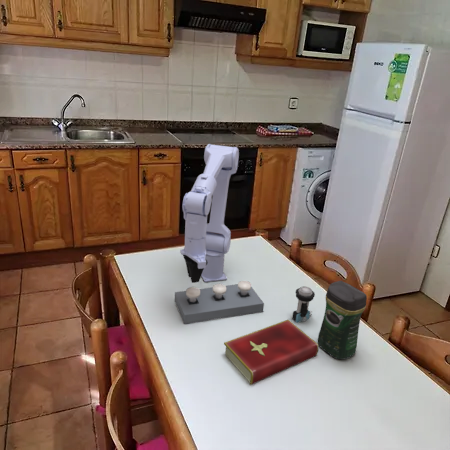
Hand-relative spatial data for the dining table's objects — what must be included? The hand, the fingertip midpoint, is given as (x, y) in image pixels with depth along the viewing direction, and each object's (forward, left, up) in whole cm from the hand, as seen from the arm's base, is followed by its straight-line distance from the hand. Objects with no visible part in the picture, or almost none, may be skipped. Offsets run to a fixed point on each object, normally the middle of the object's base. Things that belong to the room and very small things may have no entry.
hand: (193, 279), depth 115 cm
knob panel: (0, +8, -10) cm, 13 cm away
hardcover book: (+24, +14, -11) cm, 30 cm away
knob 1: (0, 0, -7) cm, 7 cm away
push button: (+12, +30, -11) cm, 34 cm away
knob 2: (0, +16, -7) cm, 17 cm away
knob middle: (0, +8, -7) cm, 11 cm away
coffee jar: (+26, +32, -11) cm, 43 cm away
